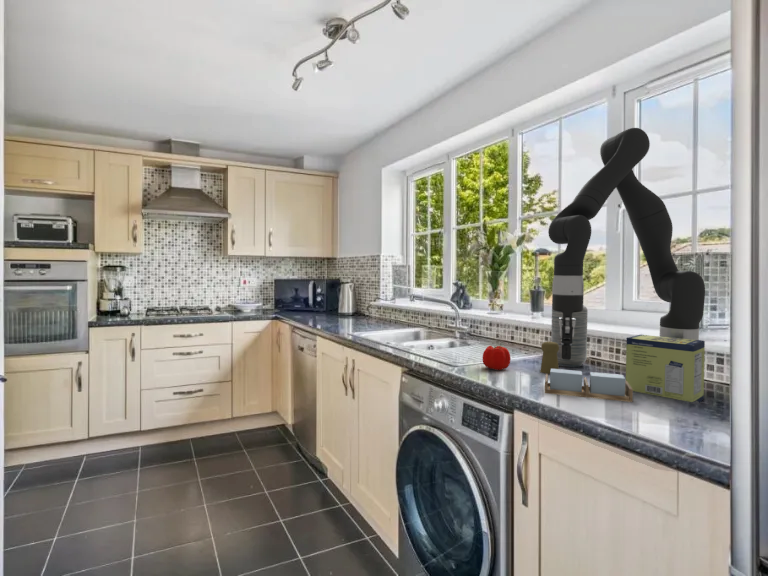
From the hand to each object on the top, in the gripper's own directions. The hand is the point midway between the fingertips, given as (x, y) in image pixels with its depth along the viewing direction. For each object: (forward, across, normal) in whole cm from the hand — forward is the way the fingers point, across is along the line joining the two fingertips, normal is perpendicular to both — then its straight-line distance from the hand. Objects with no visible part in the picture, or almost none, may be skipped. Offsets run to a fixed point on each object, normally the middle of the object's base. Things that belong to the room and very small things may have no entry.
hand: (566, 358), depth 113 cm
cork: (+10, +22, +4) cm, 25 cm away
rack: (+10, 0, -5) cm, 11 cm away
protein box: (+10, +9, -24) cm, 27 cm away
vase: (+10, +44, -2) cm, 45 cm away
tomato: (+10, +27, +21) cm, 36 cm away
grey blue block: (+8, 0, 0) cm, 8 cm away
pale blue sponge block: (+8, 0, -10) cm, 13 cm away
